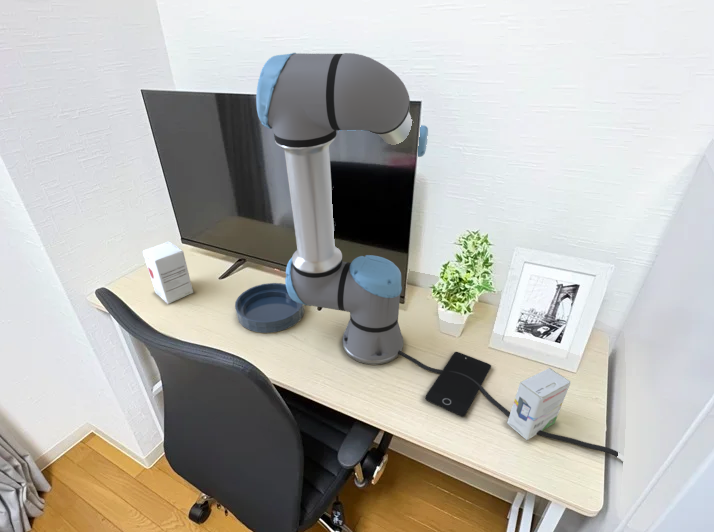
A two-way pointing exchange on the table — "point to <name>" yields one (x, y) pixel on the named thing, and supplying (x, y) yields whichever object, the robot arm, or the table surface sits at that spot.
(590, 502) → the table surface
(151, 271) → the rectangular carton
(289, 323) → the bowl
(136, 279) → the table surface
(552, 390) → the ink box
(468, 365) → the cell phone
